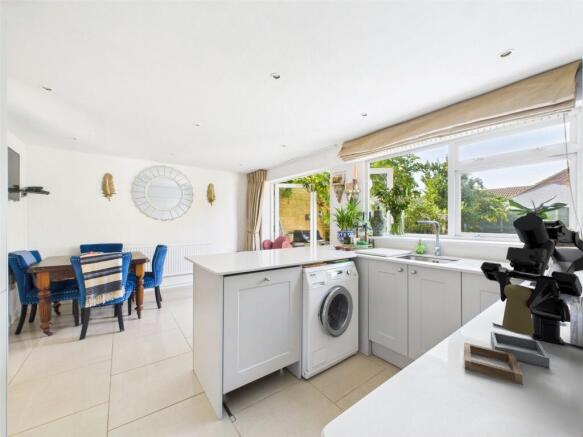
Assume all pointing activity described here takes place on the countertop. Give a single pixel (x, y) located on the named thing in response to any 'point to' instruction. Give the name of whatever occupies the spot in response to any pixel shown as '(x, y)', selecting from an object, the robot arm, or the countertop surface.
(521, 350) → the grey square tray
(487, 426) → the countertop surface
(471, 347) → the walnut collar
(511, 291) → the olive flared post
